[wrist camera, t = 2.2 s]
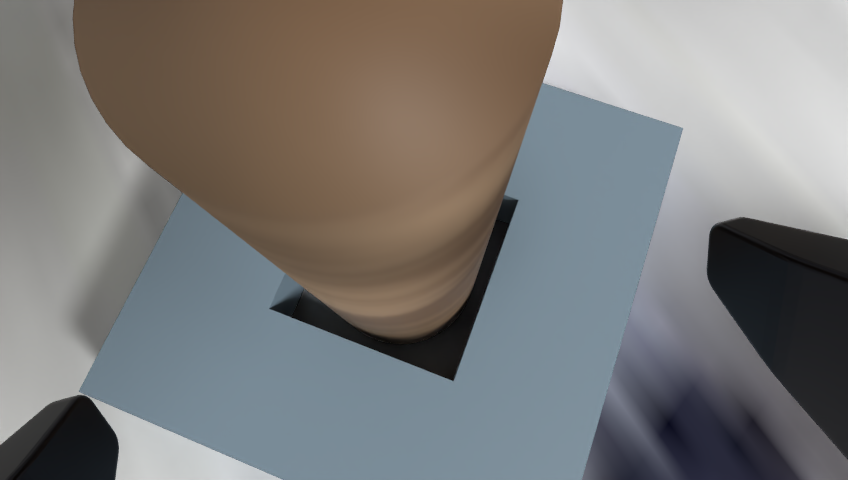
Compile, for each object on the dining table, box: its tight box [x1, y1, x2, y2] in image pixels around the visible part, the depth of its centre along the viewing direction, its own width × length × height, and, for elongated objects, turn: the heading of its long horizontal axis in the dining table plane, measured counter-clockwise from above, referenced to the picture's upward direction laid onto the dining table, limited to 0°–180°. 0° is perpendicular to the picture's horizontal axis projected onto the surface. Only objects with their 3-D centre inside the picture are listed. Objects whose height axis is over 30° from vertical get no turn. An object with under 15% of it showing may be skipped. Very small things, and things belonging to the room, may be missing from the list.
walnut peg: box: [73, 0, 563, 344], centre depth 12 cm, size 5×5×14 cm
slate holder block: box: [79, 83, 683, 480], centre depth 18 cm, size 14×14×2 cm
